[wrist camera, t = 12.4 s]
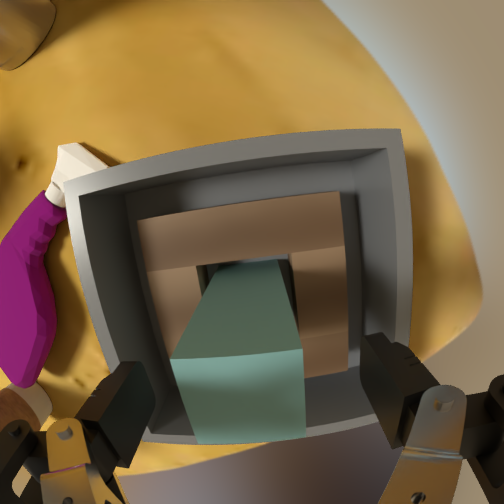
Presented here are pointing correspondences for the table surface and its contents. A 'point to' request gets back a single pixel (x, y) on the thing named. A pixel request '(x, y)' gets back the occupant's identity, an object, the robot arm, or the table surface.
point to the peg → (242, 359)
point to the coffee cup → (24, 405)
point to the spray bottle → (35, 272)
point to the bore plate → (254, 246)
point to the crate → (241, 190)
